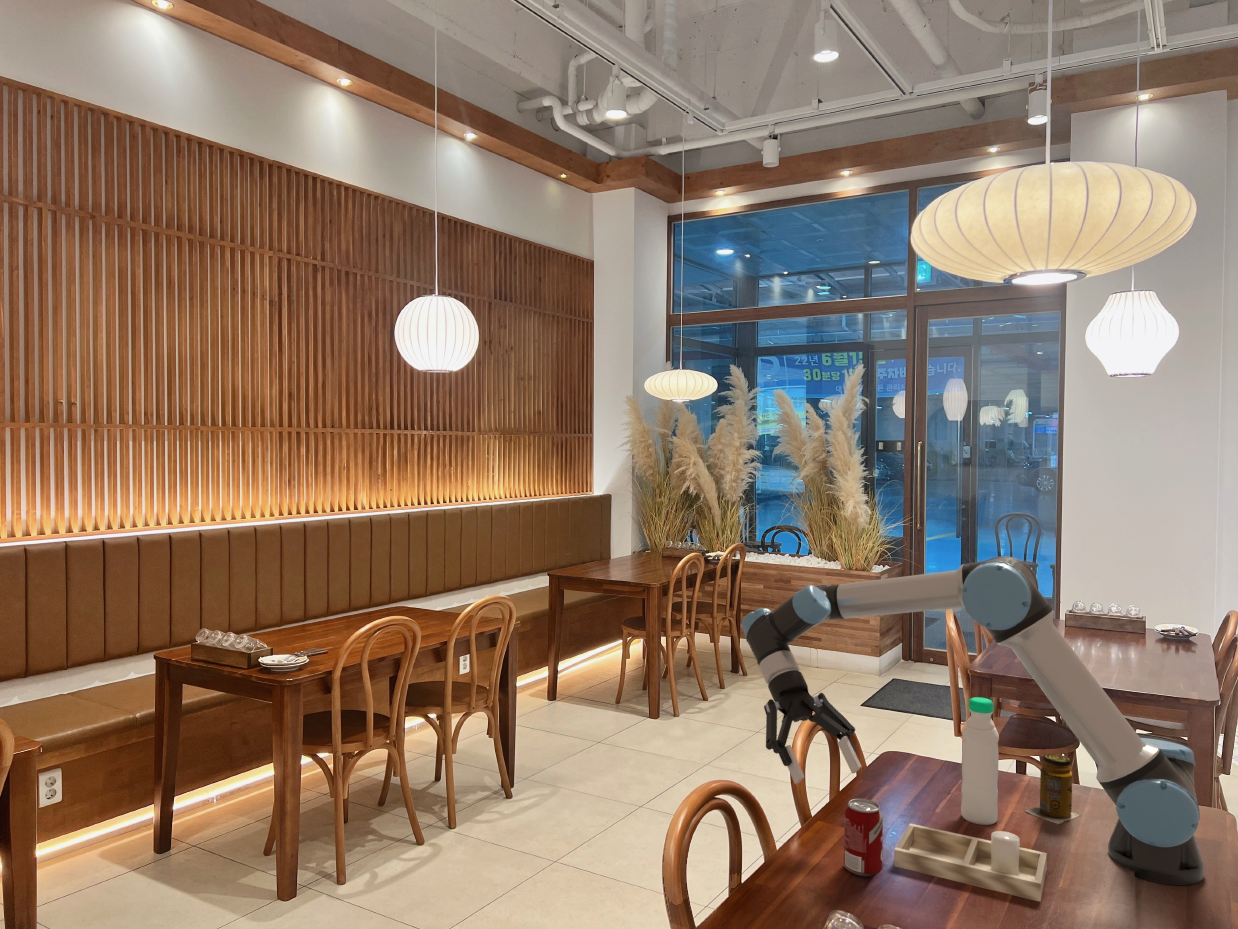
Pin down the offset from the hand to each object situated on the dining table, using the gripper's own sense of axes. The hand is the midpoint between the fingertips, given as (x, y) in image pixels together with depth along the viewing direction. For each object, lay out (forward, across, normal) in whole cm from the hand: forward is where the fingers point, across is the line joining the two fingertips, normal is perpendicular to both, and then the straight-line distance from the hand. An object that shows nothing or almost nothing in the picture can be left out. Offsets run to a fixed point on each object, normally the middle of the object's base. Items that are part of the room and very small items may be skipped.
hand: (828, 775), depth 167 cm
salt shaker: (+26, -21, +7) cm, 34 cm away
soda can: (+17, 0, -3) cm, 17 cm away
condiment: (+14, -54, -6) cm, 56 cm away
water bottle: (+11, -38, -9) cm, 40 cm away
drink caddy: (+23, -17, +3) cm, 29 cm away
